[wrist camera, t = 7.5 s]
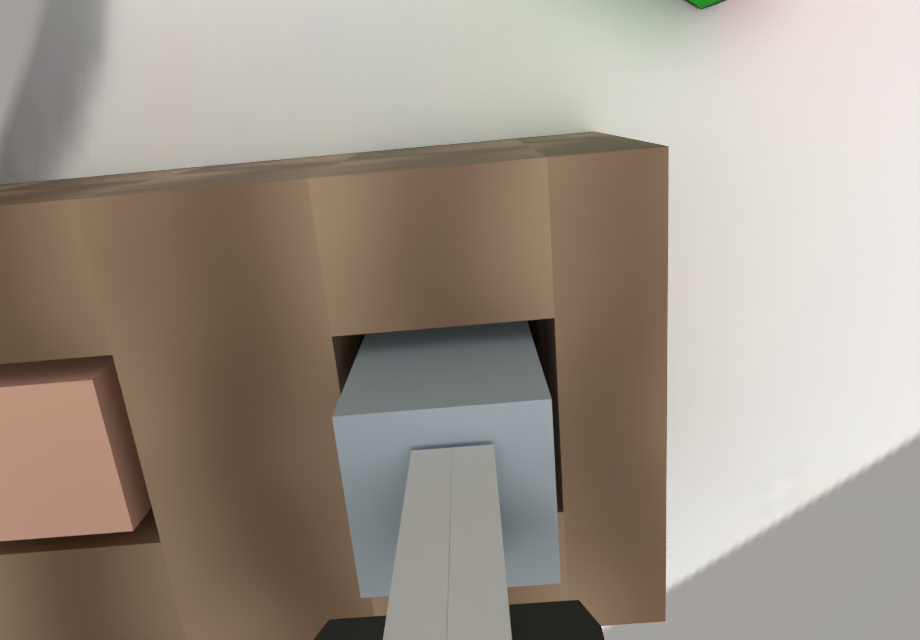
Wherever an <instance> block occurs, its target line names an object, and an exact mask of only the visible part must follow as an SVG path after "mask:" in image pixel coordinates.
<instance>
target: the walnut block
mask: <svg viewBox="0 0 920 640" xmlns="http://www.w3.org/2000/svg"><path fill="white" fill-rule="evenodd" d="M667 292H668V146H664V145H659V144H654V143H649V142H644V141H639V140H634V139H629V138H624V137H619V136H614V135H609V134H604V133H599V132H585V133H573V134H562V135H551V136H540V137H529V138H518V139H507V140H495V141H484V142H473V143H462V144H451V145H440V146H429V147H417V148H406V149H395V150H384V151H373V152H362V153H351V154H339V155H328V156H317V157H306V158H295V159H284V160H273V161H261V162H250V163H239V164H228V165H217V166H206V167H195V168H183V169H172V170H161V171H150V172H139V173H128V174H117V175H105V176H94V177H83V178H72V179H61V180H50V181H39V182H27V183H16V184H5V185H0V364H8V363H20V362H32V361H44V360H56V359H68V358H80V357H92V356H104V355H112V356H113V359H114V363H115V367H116V371H117V375H118V379H119V383H120V386H121V390H122V394H123V398H124V402H125V406H126V410H127V413H128V417H129V421H130V425H131V429H132V433H133V437H134V440H135V444H136V448H137V452H138V456H139V460H140V464H141V467H142V471H143V475H144V479H145V483H146V487H147V491H148V494H149V498H150V502H151V506H152V507H151V509H150V510H149V511H148V513H147V514H146V515H145V517H144V518H143V519H142V521H141V522H140V523H139V525H138V526H137V527H136V528H135V530H134V531H129V532H116V533H102V534H89V535H76V536H63V537H50V538H37V539H24V540H11V541H0V640H313V639H314V638H315V637H316V636H317V634H318V633H319V632H320V630H321V629H322V628H323V627H324V625H325V624H326V623H327V621H328V620H329V619H341V618H356V617H370V616H385V615H387V609H388V602H389V596H382V597H368V598H361V596H360V590H359V584H358V578H357V571H356V565H355V559H354V552H353V546H352V540H351V534H350V527H349V521H348V515H347V508H346V502H345V496H344V489H343V483H342V477H341V471H340V464H339V458H338V452H337V445H336V439H335V433H334V426H333V420H332V415H333V413H334V410H335V408H336V406H337V403H338V401H339V398H340V396H341V393H342V391H343V388H344V386H345V383H346V381H347V378H348V376H349V373H350V371H351V369H352V366H353V364H354V361H355V359H356V356H357V354H358V351H359V349H360V346H361V344H362V341H363V339H364V337H365V334H369V333H381V332H393V331H405V330H417V329H429V328H441V327H453V326H465V325H477V324H489V323H501V322H513V321H525V320H527V323H528V326H529V329H530V332H531V335H532V338H533V342H534V345H535V348H536V351H537V354H538V357H539V361H540V364H541V367H542V370H543V373H544V376H545V380H546V383H547V386H548V389H549V392H550V395H551V398H552V415H553V435H554V456H555V476H556V496H557V516H558V536H559V556H560V576H561V583H558V584H545V585H531V586H518V587H507V591H508V602H509V605H510V604H524V603H539V602H553V601H568V600H579V601H580V602H581V603H582V604H583V605H584V606H585V608H586V609H587V610H588V611H589V612H590V614H591V615H592V616H593V617H594V618H595V620H596V621H597V622H598V623H599V624H600V625H601V626H605V625H619V624H632V623H646V622H660V621H665V596H666V444H667Z"/></svg>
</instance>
